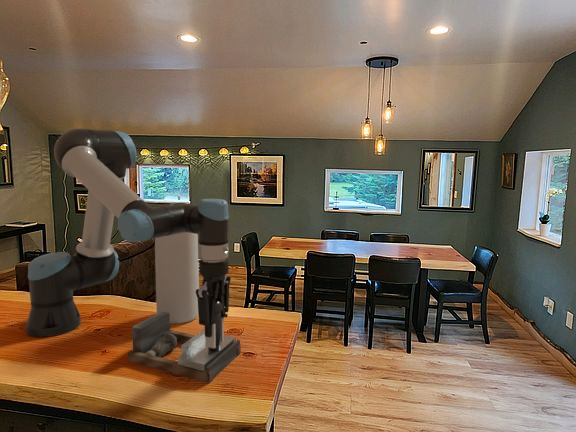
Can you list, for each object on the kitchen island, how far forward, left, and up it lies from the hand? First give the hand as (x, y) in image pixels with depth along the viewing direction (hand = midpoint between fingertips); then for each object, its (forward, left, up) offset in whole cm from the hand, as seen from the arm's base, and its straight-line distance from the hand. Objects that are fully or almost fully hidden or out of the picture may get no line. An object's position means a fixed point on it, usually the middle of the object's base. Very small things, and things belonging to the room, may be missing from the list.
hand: (214, 343), depth 105 cm
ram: (-2, 0, -6) cm, 6 cm away
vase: (-29, +22, -6) cm, 37 cm away
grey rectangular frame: (-10, 0, -6) cm, 11 cm away
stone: (-17, -1, -6) cm, 18 cm away
